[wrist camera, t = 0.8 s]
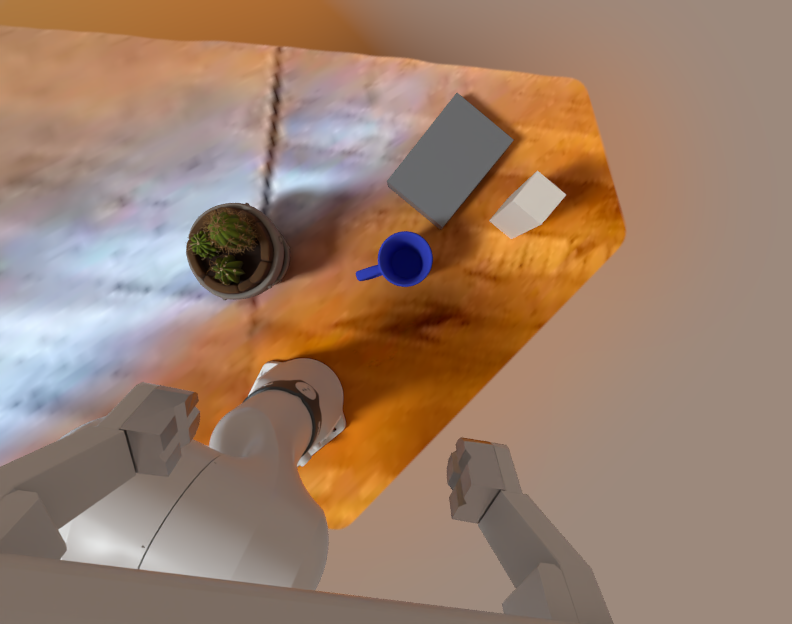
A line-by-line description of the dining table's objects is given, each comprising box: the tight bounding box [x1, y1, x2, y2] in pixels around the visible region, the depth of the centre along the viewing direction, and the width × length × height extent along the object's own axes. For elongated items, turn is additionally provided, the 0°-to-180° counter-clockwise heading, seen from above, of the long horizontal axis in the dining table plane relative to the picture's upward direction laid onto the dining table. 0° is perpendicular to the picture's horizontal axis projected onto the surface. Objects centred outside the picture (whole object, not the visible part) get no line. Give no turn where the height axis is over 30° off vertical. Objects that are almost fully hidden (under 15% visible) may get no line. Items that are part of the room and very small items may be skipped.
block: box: [489, 171, 566, 239], centre depth 53 cm, size 5×5×14 cm
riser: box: [387, 93, 513, 230], centre depth 58 cm, size 18×12×3 cm, turn 141°
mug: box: [356, 231, 433, 287], centre depth 56 cm, size 8×12×10 cm
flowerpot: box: [186, 203, 290, 300], centre depth 52 cm, size 15×15×20 cm
